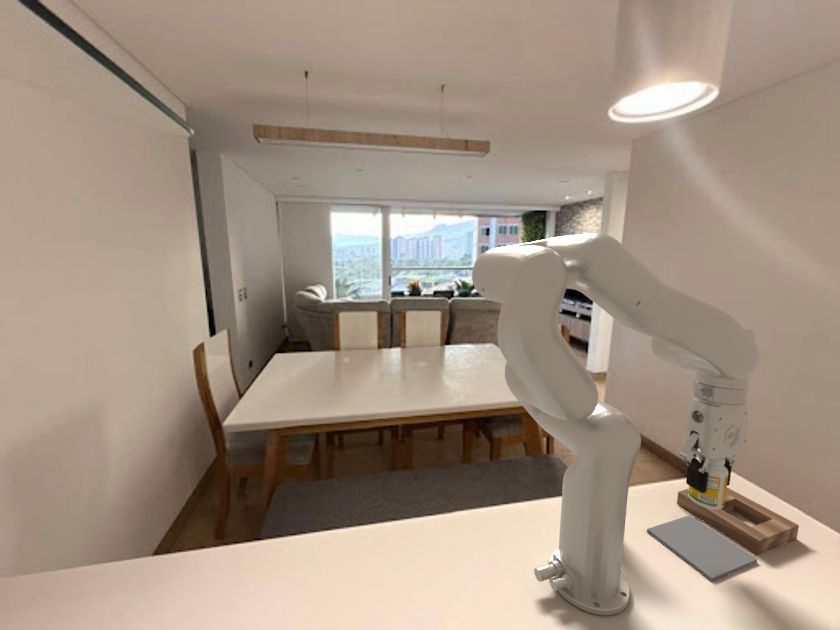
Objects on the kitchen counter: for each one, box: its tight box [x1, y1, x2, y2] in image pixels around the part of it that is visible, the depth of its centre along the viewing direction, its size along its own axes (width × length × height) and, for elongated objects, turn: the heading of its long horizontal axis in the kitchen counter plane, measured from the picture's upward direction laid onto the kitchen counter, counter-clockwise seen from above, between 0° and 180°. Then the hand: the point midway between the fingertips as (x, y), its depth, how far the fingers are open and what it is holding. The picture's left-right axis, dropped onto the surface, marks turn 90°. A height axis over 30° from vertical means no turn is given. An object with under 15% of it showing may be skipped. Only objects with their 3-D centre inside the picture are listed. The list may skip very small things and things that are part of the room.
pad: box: [646, 515, 758, 582], centre depth 68 cm, size 12×12×1 cm
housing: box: [676, 486, 800, 556], centre depth 75 cm, size 12×15×3 cm
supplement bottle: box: [688, 448, 728, 510], centre depth 66 cm, size 5×5×10 cm
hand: (707, 483), depth 67 cm, fingers closed on supplement bottle, 5 cm apart
